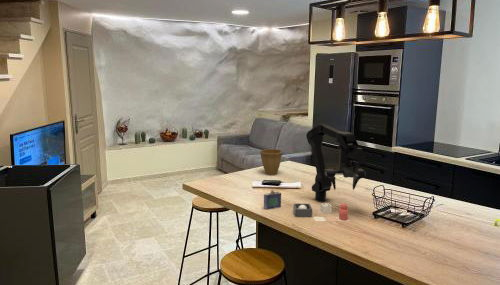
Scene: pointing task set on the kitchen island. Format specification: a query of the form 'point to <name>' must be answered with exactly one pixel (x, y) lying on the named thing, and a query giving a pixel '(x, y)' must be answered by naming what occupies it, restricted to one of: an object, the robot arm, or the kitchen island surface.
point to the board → (328, 219)
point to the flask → (272, 200)
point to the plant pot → (271, 160)
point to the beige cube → (326, 208)
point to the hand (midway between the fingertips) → (344, 189)
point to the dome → (302, 207)
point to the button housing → (302, 210)
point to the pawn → (343, 212)
